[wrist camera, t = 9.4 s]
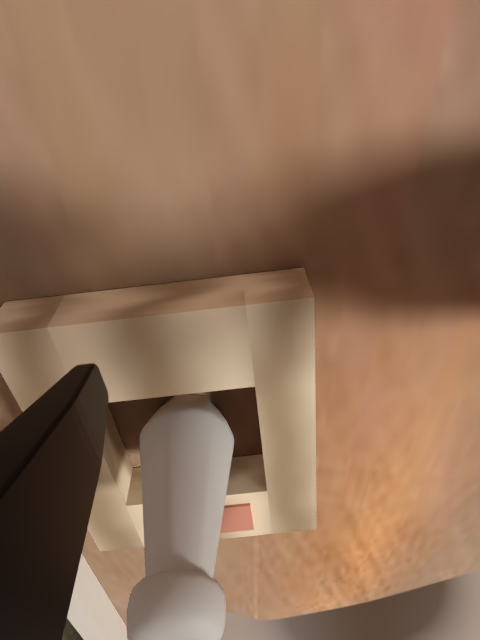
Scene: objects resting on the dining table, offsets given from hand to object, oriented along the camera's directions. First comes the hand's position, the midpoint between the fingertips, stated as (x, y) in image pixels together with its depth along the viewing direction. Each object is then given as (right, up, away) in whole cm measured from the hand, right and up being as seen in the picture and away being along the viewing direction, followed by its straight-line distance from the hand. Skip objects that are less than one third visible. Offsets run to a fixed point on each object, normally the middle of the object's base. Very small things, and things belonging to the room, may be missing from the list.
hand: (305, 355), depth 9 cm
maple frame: (-5, -6, +19) cm, 21 cm away
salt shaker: (-5, -5, +20) cm, 21 cm away
